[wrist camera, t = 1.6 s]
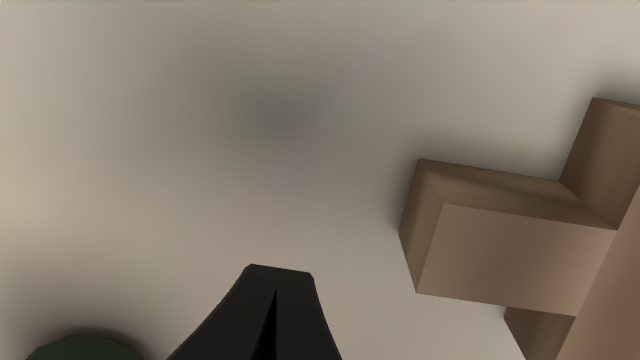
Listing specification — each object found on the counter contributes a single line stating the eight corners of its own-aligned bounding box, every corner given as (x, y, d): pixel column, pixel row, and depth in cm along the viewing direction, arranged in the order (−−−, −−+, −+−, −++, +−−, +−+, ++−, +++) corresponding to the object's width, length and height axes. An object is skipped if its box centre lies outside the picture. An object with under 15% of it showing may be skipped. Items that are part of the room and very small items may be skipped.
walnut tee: (380, 300, 18) (392, 368, 15) (442, 71, 15) (476, 95, 11) (575, 328, 19) (628, 400, 15) (679, 112, 15) (776, 147, 12)
